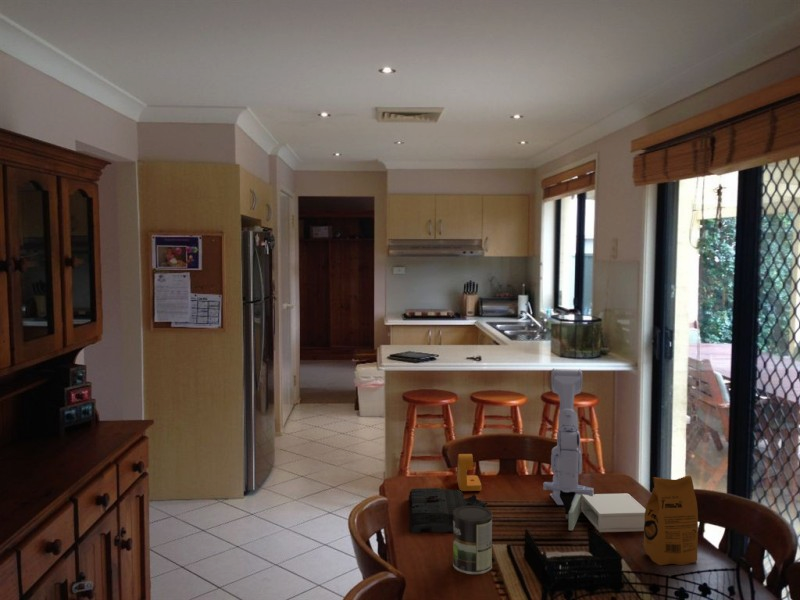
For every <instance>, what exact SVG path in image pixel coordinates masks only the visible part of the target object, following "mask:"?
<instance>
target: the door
mask: <svg viewBox="0 0 800 600" xmlns="http://www.w3.org/2000/svg"><path fill="white" fill-rule="evenodd" d="M581 513H582V494H577V496H576V498H575V500H574V502H573V504H572V505H571V507H570V511H569V515H568V514H566V517H565V519H566V520H568V531H572V532H573V531H574V529H575V526H576V524H577V523H578V522H577V521H578V519H579V516H580V514H581Z"/></svg>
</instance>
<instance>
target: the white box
mask: <svg viewBox="0 0 800 600" xmlns="http://www.w3.org/2000/svg"><path fill="white" fill-rule="evenodd" d="M645 510H646V507H644V506H643V505H642V504H641V503H640V502H638V501H637V500H636V499H635V498H634V497H633V496H631V495H630V494H629V493H625V492H624V493H621V492H620V493H594V494H593V496H589V495H584V494H581V513H582V514H584V516H585V517H586V518H587V520H588V521H589V522H590V523H591V524H592V525H593V526H594V528H595V529H596V530H597V531H598V532H599V533H618V532H619V533H621V532H623V533H624V532H644V521H645Z"/></svg>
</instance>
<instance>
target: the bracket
mask: <svg viewBox="0 0 800 600" xmlns="http://www.w3.org/2000/svg"><path fill="white" fill-rule="evenodd" d="M456 470H457V473H456V480H457V485H458V488H459V489H458V490H461V492H473V491H474V492H477V491H478V492H479V491H482V483H481V480H480V478H479V475H476V474H475V475H474V474H472V475H471V474H470V475H469V474H467V471H468V470H469V471H473V470H474V457H473V454H472V453H458V455H457V468H456Z"/></svg>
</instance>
